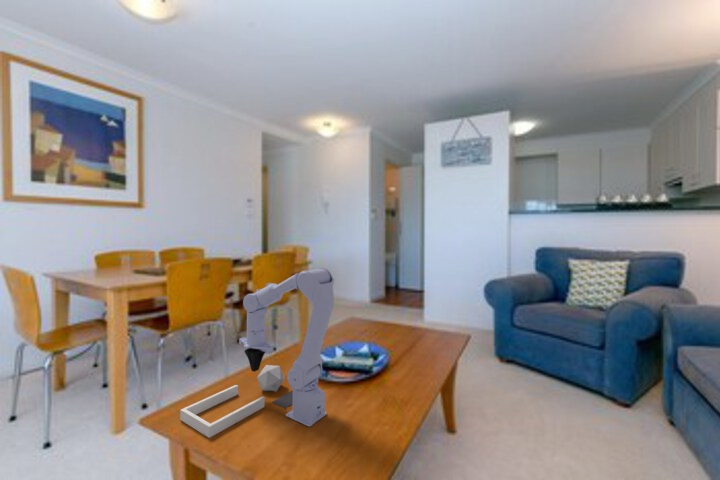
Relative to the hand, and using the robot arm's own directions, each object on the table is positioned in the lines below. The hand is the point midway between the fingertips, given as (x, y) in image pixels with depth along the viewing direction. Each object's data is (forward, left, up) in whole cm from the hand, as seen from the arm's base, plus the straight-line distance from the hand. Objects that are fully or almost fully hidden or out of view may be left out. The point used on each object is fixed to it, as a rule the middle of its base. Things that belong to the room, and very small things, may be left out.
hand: (255, 370), depth 107 cm
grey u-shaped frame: (-1, +11, -9) cm, 14 cm away
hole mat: (-11, -6, -9) cm, 15 cm away
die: (-1, -6, -9) cm, 11 cm away
